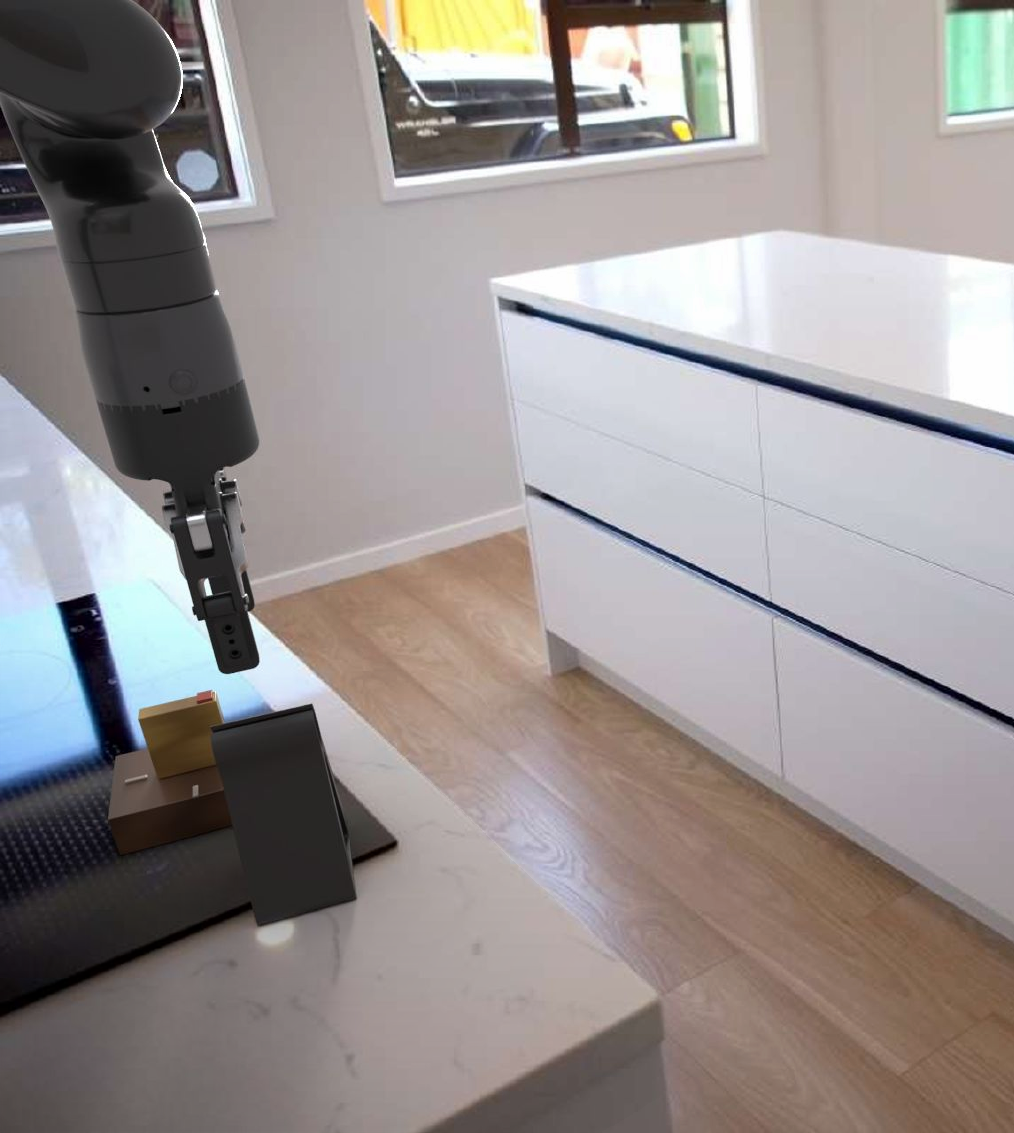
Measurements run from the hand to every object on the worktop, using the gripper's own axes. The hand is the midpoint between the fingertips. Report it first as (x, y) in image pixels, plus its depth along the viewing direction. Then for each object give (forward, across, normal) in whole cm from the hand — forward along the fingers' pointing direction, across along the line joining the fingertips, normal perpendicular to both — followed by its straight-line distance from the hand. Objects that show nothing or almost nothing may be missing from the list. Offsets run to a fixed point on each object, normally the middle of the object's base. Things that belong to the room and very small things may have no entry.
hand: (239, 639), depth 78 cm
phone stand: (+18, 0, 0) cm, 18 cm away
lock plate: (+18, -13, -6) cm, 23 cm away
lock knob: (+15, -13, -6) cm, 20 cm away
